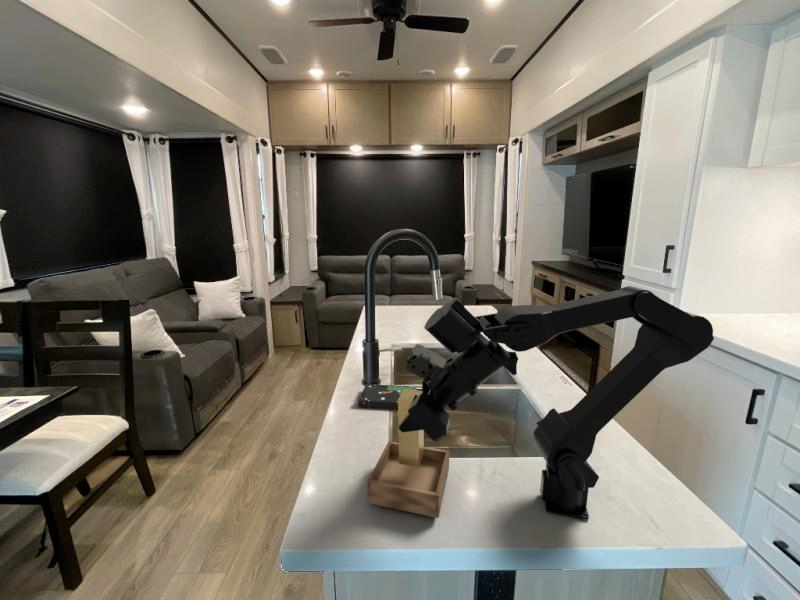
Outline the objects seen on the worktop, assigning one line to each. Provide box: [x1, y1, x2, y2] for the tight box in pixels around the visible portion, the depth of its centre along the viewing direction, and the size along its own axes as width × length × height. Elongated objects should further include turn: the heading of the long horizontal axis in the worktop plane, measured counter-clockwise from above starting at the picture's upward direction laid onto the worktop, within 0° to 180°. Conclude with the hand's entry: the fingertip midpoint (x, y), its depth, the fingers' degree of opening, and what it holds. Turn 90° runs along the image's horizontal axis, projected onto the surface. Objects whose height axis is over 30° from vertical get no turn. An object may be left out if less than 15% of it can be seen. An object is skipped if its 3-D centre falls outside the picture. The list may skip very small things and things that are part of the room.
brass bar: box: [397, 389, 425, 467], centre depth 62 cm, size 4×4×12 cm
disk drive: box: [357, 383, 417, 411], centre depth 98 cm, size 10×3×15 cm
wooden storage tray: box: [366, 440, 450, 519], centre depth 64 cm, size 12×12×5 cm
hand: (403, 423), depth 62 cm, fingers closed on brass bar, 4 cm apart
